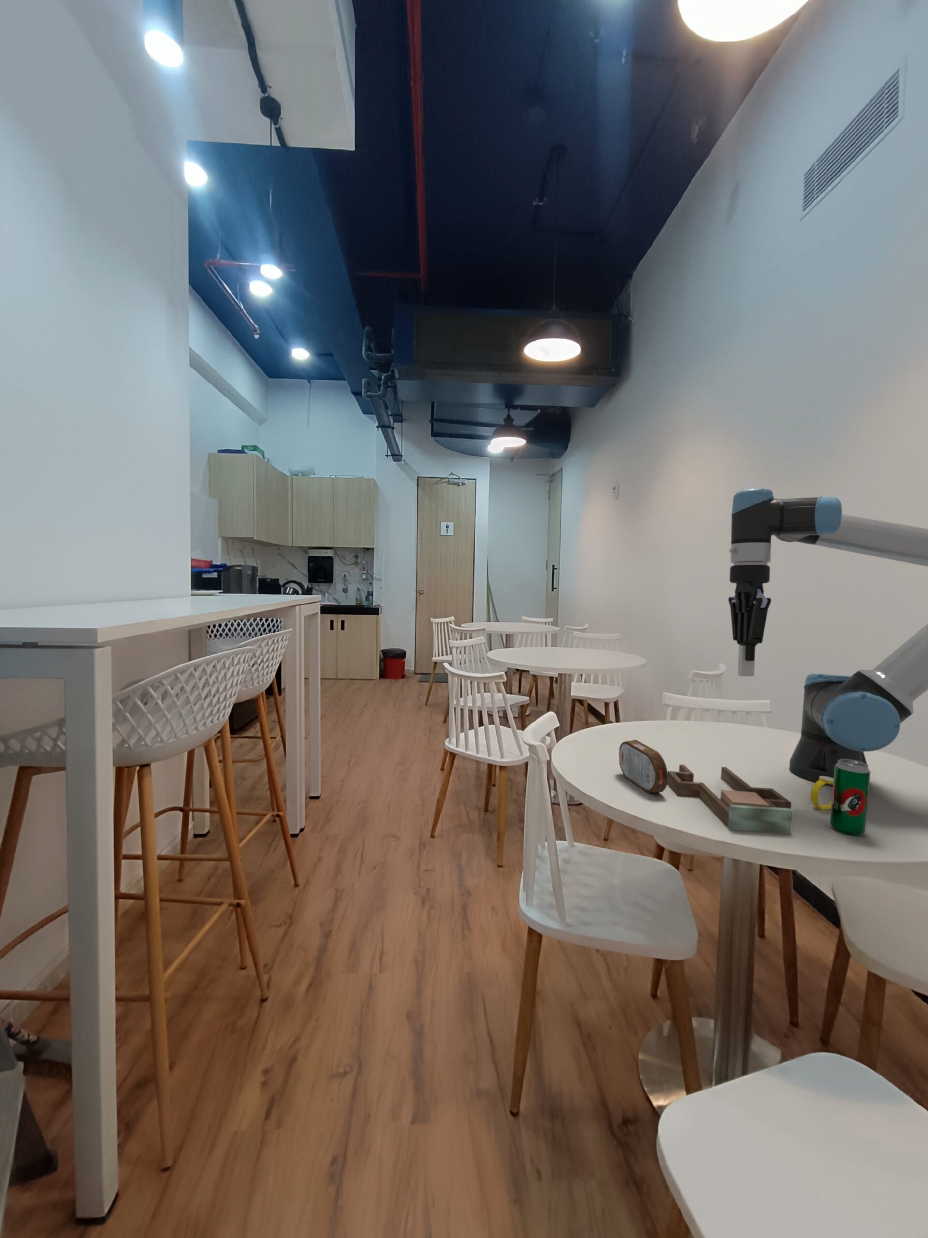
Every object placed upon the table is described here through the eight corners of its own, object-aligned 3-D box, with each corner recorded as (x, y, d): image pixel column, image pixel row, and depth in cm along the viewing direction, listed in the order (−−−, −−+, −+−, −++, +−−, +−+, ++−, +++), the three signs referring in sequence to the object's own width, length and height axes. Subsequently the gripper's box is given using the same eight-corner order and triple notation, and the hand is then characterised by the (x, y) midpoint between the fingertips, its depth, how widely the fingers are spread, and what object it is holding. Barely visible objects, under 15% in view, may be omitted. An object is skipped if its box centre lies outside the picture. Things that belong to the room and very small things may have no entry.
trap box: (744, 779, 121) (745, 761, 121) (815, 835, 94) (817, 812, 94) (660, 774, 122) (661, 756, 122) (706, 828, 95) (707, 805, 95)
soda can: (872, 835, 95) (878, 766, 94) (849, 838, 93) (855, 768, 93) (844, 823, 100) (850, 757, 99) (822, 825, 98) (828, 758, 97)
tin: (668, 799, 108) (670, 756, 107) (653, 799, 107) (656, 756, 107) (628, 772, 123) (630, 735, 122) (615, 773, 122) (617, 735, 121)
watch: (830, 806, 108) (834, 776, 108) (843, 812, 106) (847, 781, 105) (805, 805, 107) (809, 775, 107) (817, 811, 104) (822, 780, 104)
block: (753, 813, 103) (755, 792, 103) (767, 827, 97) (769, 805, 97) (719, 810, 103) (721, 789, 103) (731, 824, 98) (733, 802, 97)
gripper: (717, 565, 124) (714, 671, 125) (748, 562, 111) (744, 680, 112) (751, 565, 124) (747, 671, 125) (785, 563, 111) (781, 680, 112)
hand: (745, 675), depth 118 cm, fingers closed
